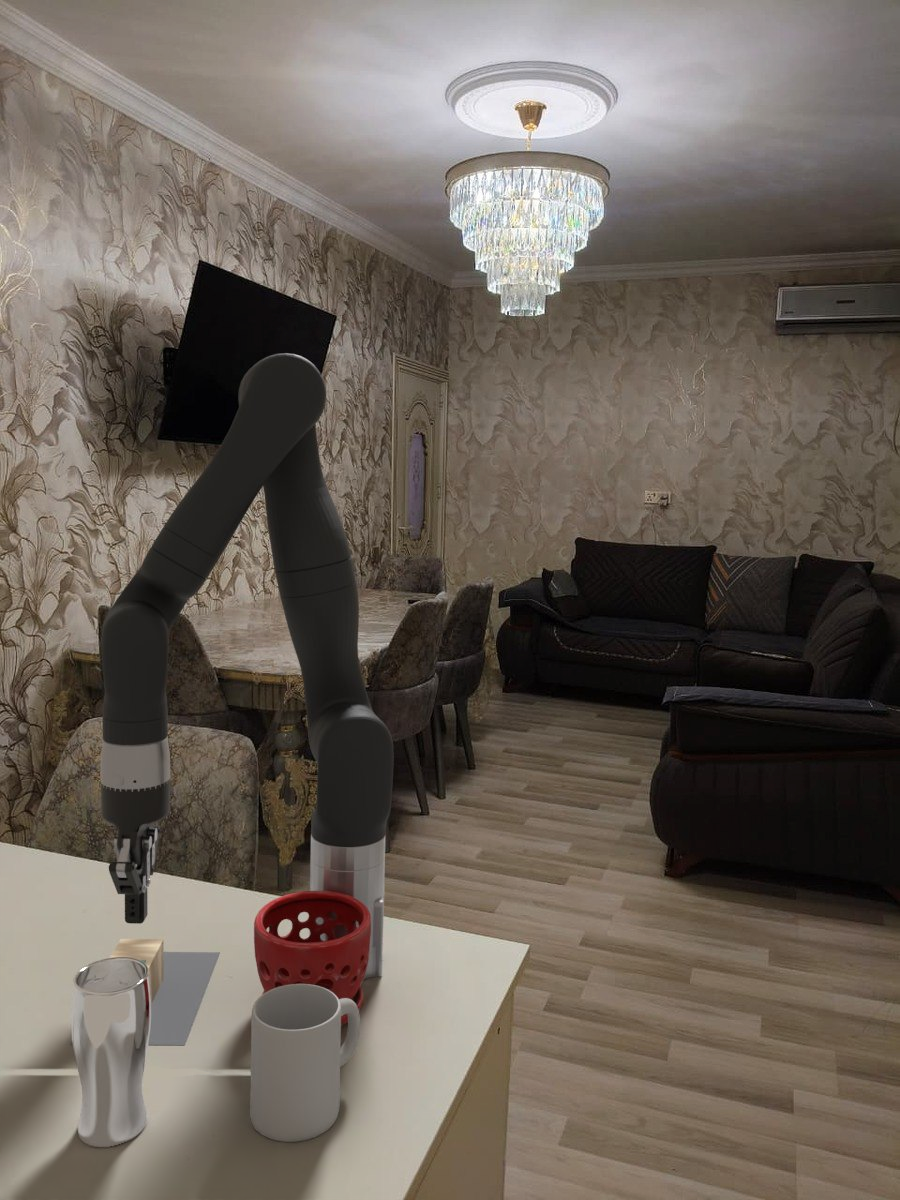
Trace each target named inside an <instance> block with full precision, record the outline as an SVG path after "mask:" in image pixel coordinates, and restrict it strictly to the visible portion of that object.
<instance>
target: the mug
mask: <svg viewBox="0 0 900 1200" xmlns="http://www.w3.org/2000/svg"><path fill="white" fill-rule="evenodd" d="M262 994H263V993H262ZM262 994H260V996H259V997H258V998H257V999H256V1000H255V1001H254V1003H253V1006H252V1008H251V1022H250V1023H251V1031H250V1033H251V1034H250V1035H251V1037H250V1038H251V1041H250V1042H251V1044H250V1049H251V1051H250V1054H251V1055H250V1093H249V1094H250V1096H249V1097H250V1098H249V1099H250V1100H249V1116H250V1121H251V1124H252V1126H253V1127H254V1129H255V1130H256V1131H257V1133H259V1134H261V1135H262V1136H263V1137H265V1138H267V1139H270V1140H273V1141H276V1142H283V1143H297V1142H303V1141H308V1140H312V1139H314V1138H316V1137H319V1136H321V1135H322V1134H324V1133H325V1132H327V1131H329V1129H330V1128H331V1127H332V1126H333V1125H334V1123H335V1122H336V1120H337V1118H338V1116H339V1112H340V1102H341V1101H340V1099H341V1097H340V1095H341V1093H340V1089H341V1087H340V1079H341V1078H340V1077H341V1076H340V1075H341V1069H340V1068H341V1067H342V1066H344V1065H345V1064H346V1063H347V1062H349V1061H350V1060H351V1059H352V1057H353V1056H354V1055H355V1053H356V1051H357V1047H358V1044H359V1039H360V1034H361V1033H360V1030H361V1017H360V1010H358V1008H357V1005H356V1003H355V1002H354V1001H353V1000H351V999H348V998H342V999H338V997H337V996H336V995H335V994H334V993H333V992H331V991H330V990H328V989H326V988H323V987H320V986H316V985H310V984H291V985H285V986H280V987H277V988H274V989H272V990H269V991H267V992H266V993H264V994H263V995H262ZM344 1014H347V1016H348V1022H347V1030H346V1031H347V1032H346V1036H345V1039H344V1042H343V1044H342V1045H341V1039H342V1037H341V1035H342V1033H341V1031H342V1026H341V1016H343V1015H344Z"/></svg>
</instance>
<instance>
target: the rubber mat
mask: <svg viewBox="0 0 900 1200" xmlns="http://www.w3.org/2000/svg"><path fill="white" fill-rule="evenodd" d="M220 954H221V951H220V952H219V951H216V952H215V951H214V952H213V951H211V952H209V951H207V952H205V951H202V952H201V951H163V981H162V983H161V985H160V987H159V989H158V991H157V994H156V996H155V998H154V1000H153V1002H152V1004H151V1030H150V1038H149V1044H148V1046H186V1043H187V1041H188V1038H189V1035H190V1033H191V1030H192V1028H193V1025H194V1023H195V1020H196V1017H197V1015H198V1011H199V1009H200V1007H201V1005H202V1002H203V998H204V997H205V994H206V991H207V988H208V985H209V983H210V981H211V978H212V975H213V973H214V970H215V966H216V965H217V962H218V959H219V957H220ZM69 1046H73V1042H72V1040H71V1041H70V1044H69Z"/></svg>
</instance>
